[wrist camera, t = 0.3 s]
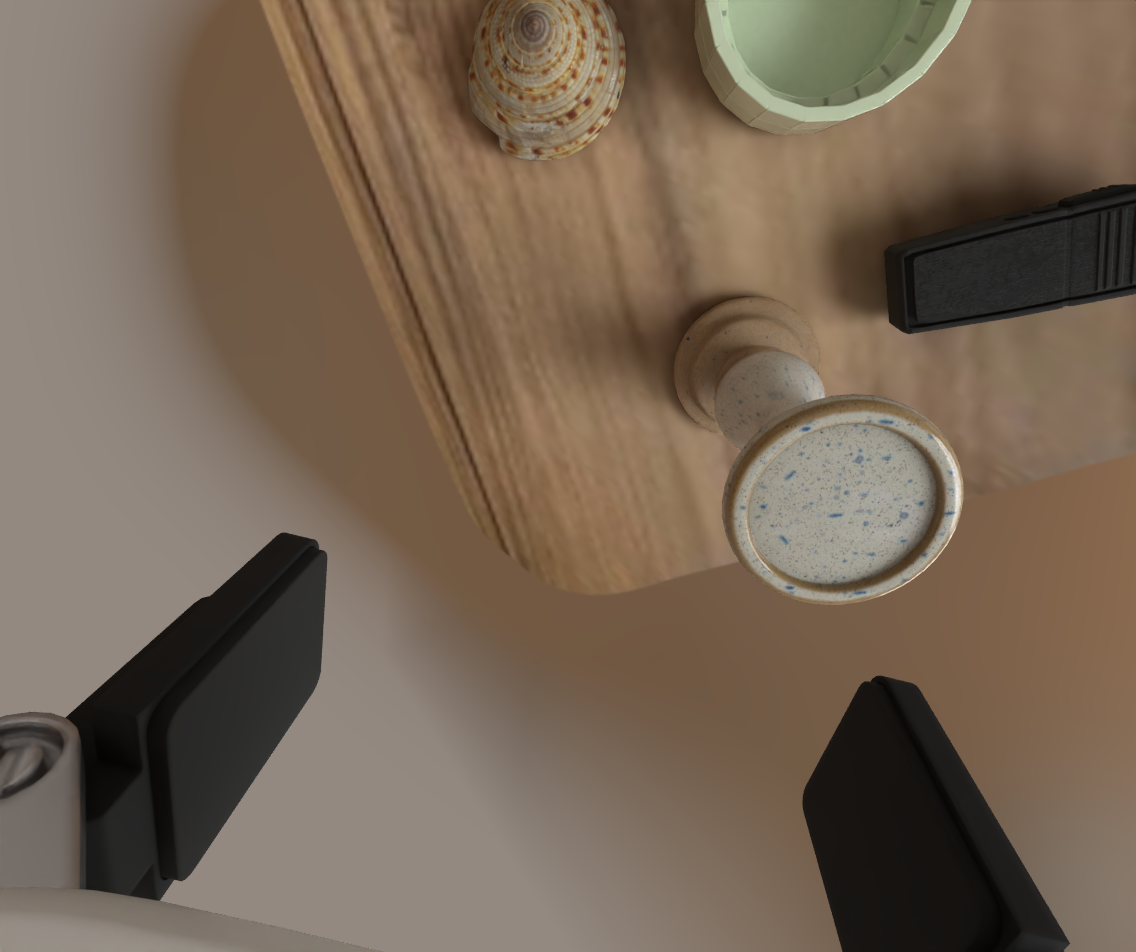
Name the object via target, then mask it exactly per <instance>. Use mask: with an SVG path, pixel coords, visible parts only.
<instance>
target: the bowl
mask: <svg viewBox="0 0 1136 952" xmlns="http://www.w3.org/2000/svg"><path fill="white" fill-rule="evenodd" d="M970 2H971V0H696V6H695V26H694V33H695V35H694V36H695V41H696V45H697V49H698V54H699V58H700V62H701V67H702V71H703V73H704V75H705V77H706V79H707V80H708V82H709V84H710V85H711V87H712V89H713V90H714V92H715V94H716V96H717V97H718V99H719V101H720V102H721V103H722V104H723V105H724V106H725V107H726V108H727V109H729V110H730V111H731V112H732V113H733V114H735V115H736V116H737V117H738V118H739V119H741V120H742V121H743V122H744V123H746V124H747V125H749V126H752V127H755V128H758V129H761V130H764V131H767V132H770V133H773V134H776V135H778V134H779V135H795V134H812V133H816V132H819V131H821V130H824V129H827V128H829V127H832V126H835V125H837V124H840V123H843V122H845V121H848V120H850V119H852V118H855V117H857V116H859V115H862V114H864V113H866V112H869V111H871V110H873V109H875V108H878V107H880V106H882V105H884V104H886V103H887V102H888V101H890V100H891V99H892V98H894V97H895V96H896V95H898V94H899V93H900V92H902V91H903V90H904V89H906V88H907V87H908V86H910V85H911V84H912V83H914V82H915V81H916V80H918V79H919V78H920V77H921V76H922V75H924V73H925V72H926V71H927V70H928V68H929V67H930V66H931V65H932V63H933V62H934V61H935V60H936V58H937V57H938V56H939V55H940V53H941V52H942V51H943V50H944V48H945V47H946V46H947V45H948V43H949V42H950V41H951V40H952V38H953V37H954V35H955V34H956V32H957V30H958V28H959V26H960V24H961V22H962V19H963V17H964V15H965V13H966V11H967V9H968V7H969V4H970Z"/></svg>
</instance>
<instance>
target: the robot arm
mask: <svg viewBox="0 0 1136 952" xmlns="http://www.w3.org/2000/svg"><path fill="white" fill-rule="evenodd" d="M326 571H327V554H326V552H325V551H323V550H319V545H318V542H317V541H316V540H314V539H309V538H305V537H301V536H297V535H293V534H289V533H280V534H279V535H277V536H276V537H275V538H274V539H273V540H272V541H271V542H270V543H269V544H267V545H266V546H265V547H264V548H263V549H262V550H261V551H260V552H258V553H257V554H256V555H255V556H254V557H253V558H252V559H251V560H250V561H248V562H247V563H246V564H245V565H244V566H243V567H242V568H241V569H240V570H239V571H237V572H236V573H235V574H234V575H233V576H232V577H231V578H230V579H229V580H227V581H226V582H225V583H224V584H223V585H222V586H221V587H220V588H219V589H218V590H216V591H215V592H214V593H213V594H212V595H211V596H208V597H204V598H201V599H200V600H198V601H197V602H195V603H194V604H193V605H192V606H191V607H190V608H188V609H187V610H186V611H185V612H184V613H183V614H182V615H181V616H179V617H178V618H177V619H176V620H175V621H174V622H173V623H171V624H170V625H169V626H168V627H167V628H166V629H165V630H164V631H162V633H160V634H159V635H158V636H157V637H156V638H155V639H154V640H152V641H151V642H150V643H149V644H148V645H147V646H146V647H144V648H143V649H142V650H141V651H140V652H139V653H138V654H137V655H135V656H134V657H133V658H132V659H131V660H130V661H129V662H127V663H126V664H125V665H124V666H123V667H122V668H121V669H120V670H119V671H117V672H116V673H115V674H114V675H113V676H112V677H111V678H109V679H108V680H107V681H106V682H105V683H104V684H103V685H102V686H101V687H99V688H98V689H97V690H96V691H95V692H94V693H93V694H91V695H90V696H89V697H88V698H87V699H86V700H85V701H84V702H82V703H81V704H80V705H79V706H78V707H77V708H76V709H75V710H74V711H72V712H71V713H70V714H69V715H68V716H67V717H66V718H64V717H61V716H58V715H55V714H52V713H39V712H28V713H20V714H13V715H6V716H3V717H0V952H381V951H376V950H372V949H369V948H364V947H360V946H356V945H352V944H348V943H344V942H339V941H335V940H331V939H327V938H322V937H318V936H314V935H310V934H306V933H302V932H298V931H293V930H289V929H285V928H280V927H276V926H272V925H267V924H262V923H258V922H253V921H248V920H244V919H239V918H235V917H230V916H226V915H221V914H217V913H212V912H208V911H203V910H198V909H194V908H189V907H185V906H180V905H176V904H171V903H166V902H162V901H160V899H161V898H162V897H163V895H164V894H165V892H166V891H167V889H168V888H169V886H170V885H171V884H172V882H173V881H174V880H179V881H183V880H185V879H186V878H187V877H188V876H189V875H190V874H191V873H192V871H193V870H194V868H195V867H196V866H197V864H198V863H199V861H200V860H201V858H202V857H203V855H204V854H205V852H206V851H207V849H208V848H209V846H210V845H211V843H212V842H213V840H214V839H215V838H216V836H217V835H218V833H219V832H220V830H221V829H222V827H223V825H224V824H225V823H226V821H227V820H228V818H229V817H230V815H231V814H232V812H233V811H234V809H235V808H236V806H237V805H238V803H239V802H240V800H241V799H242V797H243V796H244V794H245V793H246V791H247V790H248V788H249V787H250V785H251V784H252V782H253V781H254V779H255V778H256V776H257V775H258V773H259V772H260V770H261V769H262V767H263V766H264V765H265V763H266V762H267V760H268V759H269V757H270V756H271V754H272V753H273V751H274V749H275V748H276V747H277V745H278V744H279V742H280V741H281V739H282V738H283V736H284V735H285V733H286V732H287V730H288V729H289V727H290V726H291V724H292V723H293V721H294V720H295V718H296V717H297V715H298V714H299V712H300V711H301V709H302V708H303V706H304V705H305V703H306V702H307V700H308V699H309V697H310V696H311V694H312V693H313V691H314V689H315V687H316V685H317V683H318V680H319V677H320V672H321V658H322V641H323V624H324V623H323V622H324V607H325V589H326ZM803 811H804V815H805V819H806V822H807V826H808V829H809V833H810V837H811V840H812V843H813V847H814V851H815V854H816V858H817V862H818V865H819V869H820V872H821V876H822V879H823V883H824V887H825V890H826V894H827V898H828V901H829V904H830V908H831V912H832V915H833V919H834V922H835V926H836V929H837V933H838V937H839V940H840V944H841V947H842V951H843V952H1064V949H1065V948H1066V947H1067V946H1068V945H1069V944H1070V943H1069V941H1068V939H1067V938H1066V936H1065V934H1064V932H1063V931H1062V929H1061V927H1060V926H1059V924H1058V923H1057V921H1056V919H1055V917H1054V916H1053V914H1052V912H1051V911H1050V909H1049V907H1048V906H1047V904H1046V902H1045V900H1044V899H1043V897H1042V895H1041V894H1040V892H1039V890H1038V889H1037V887H1036V885H1035V884H1034V882H1033V880H1032V878H1031V877H1030V875H1029V873H1028V872H1027V870H1026V868H1025V867H1024V865H1023V863H1022V862H1021V860H1020V858H1019V856H1018V855H1017V853H1016V851H1015V850H1014V848H1013V846H1012V845H1011V843H1010V841H1009V840H1008V838H1007V836H1006V835H1005V833H1004V831H1003V829H1002V828H1001V826H1000V825H999V823H998V821H997V819H996V818H995V816H994V814H993V813H992V811H991V809H990V808H989V806H988V804H987V802H986V801H985V799H984V797H983V796H982V794H981V793H980V791H979V789H978V787H977V786H976V784H975V782H974V781H973V779H972V777H971V775H970V774H969V772H968V770H967V769H966V767H965V765H964V764H963V762H962V760H961V759H960V757H959V755H958V754H957V752H956V750H955V749H954V747H953V745H952V743H951V742H950V740H949V738H948V737H947V735H946V734H945V731H944V730H943V728H942V727H941V725H940V723H939V721H938V720H937V718H936V716H935V715H934V713H933V711H932V710H931V708H930V706H929V705H928V703H927V701H926V700H925V698H924V696H923V694H922V693H921V691H920V690H919V688H918V687H917V686H916V685H914V684H912V683H909V682H905V681H901V680H896V679H893V678H888V677H884V676H876V677H874V678H873V679H872V680H871V682H863V683H862V684H861V685H860V687H859V688H858V690H857V692H856V694H855V696H854V698H853V699H852V701H851V703H850V705H849V707H848V709H847V711H846V712H845V714H844V716H843V718H842V720H841V722H840V724H839V725H838V727H837V729H836V731H835V733H834V735H833V737H832V738H831V740H830V742H829V744H828V746H827V748H826V750H825V751H824V753H823V755H822V757H821V759H820V761H819V763H818V764H817V766H816V768H815V770H814V772H813V774H812V776H811V778H810V779H809V781H808V783H807V785H806V787H805V789H804V794H803Z"/></svg>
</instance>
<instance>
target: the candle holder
mask: <svg viewBox="0 0 1136 952" xmlns="http://www.w3.org/2000/svg"><path fill="white" fill-rule="evenodd" d="M819 372H820V353H819V347H818V344H817V341H816V337H815V335H814V333H813V332H812V330H811V328H810V326H809V325H808V324H807V322H806V321H805V320H804V318H802V317H801V316H800V315H799V314H798V313H797V312H796V311H795V310H793V309H791V308H790V307H788V306H787V305H785V304H783V303H780V302H778V301H775V300H772V299H768V298H763V297H742V298H736V299H732V300H728V301H725V302H723V303H721V304H718V305H716V306H714V307H713V308H711V309H709V310H708V311H706V312H705V313H704V314H702V315H701V316H700V317H699V318H698V319H697V320H696V321H695V322H694V323H693V324H692V325H691V326H690V327H689V329H688V330H687V332H686V333H685V335H684V336H683V338H682V340H681V343H680V345H679V347H678V350H677V353H676V357H675V363H674V383H675V388H676V392H677V395H678V397H679V400H680V402H681V404H682V406H683V407H684V409H685V410H686V412H687V413H688V414H689V415H690V416H691V418H692V419H693V420H695V421H696V422H697V423H698V424H699V425H701V426H702V427H704V428H705V429H707V430H709V431H711V432H713V433H716V434H718V435H722V436H725V437H726V438H727V439H728V441H730V442H731V443H732V444H733V445H734V446H735V447H737V448H739V449H740V450H742V451H741V452H740V453H739V455H738V456H737V458H736V460H735V462H734V464H733V466H732V468H731V470H730V472H729V475H728V478H727V481H726V484H725V487H724V493H723V499H722V518H723V523H724V528H725V533H726V536H727V539H728V541H729V543H730V546H731V548H732V550H733V552H734V553H735V555H736V557H737V558H738V560H739V561H740V563H741V564H742V565H743V566H744V567H745V568H746V570H747V571H748V572H749V573H750V574H751V575H752V576H754V577H755V578H756V579H757V580H758V581H760V582H761V583H762V584H763V585H765V586H767V587H768V588H770V589H772V590H774V591H776V592H777V593H779V594H782V595H784V596H787V597H790V598H792V599H795V600H800V601H804V602H808V603H817V604H826V605H833V604H834V605H835V604H849V603H856V602H862V601H866V600H869V599H873V598H876V597H880V596H882V595H884V594H887V593H889V592H891V591H894V590H896V589H897V588H899V587H901V586H903V585H905V584H906V583H908V582H910V581H911V580H913V579H914V578H915V577H917V576H918V575H919V574H921V573H922V572H923V571H924V570H926V569H927V568H928V567H929V566H930V565H931V564H932V563H933V562H934V560H936V559H937V557H938V556H939V555H940V553H941V552H942V551H943V549H944V548H945V547H946V545H947V544H948V542H949V540H950V538H951V536H952V535H953V532H954V531H955V529H956V526H957V523H958V520H959V517H960V514H961V510H962V503H963V497H964V494H963V476H962V472H961V468H960V464H959V461H958V458H957V456H956V454H955V452H954V450H953V448H952V446H951V444H950V443H949V441H948V440H947V439H946V437H945V436H944V435H943V433H942V432H941V431H940V429H938V428H937V427H936V426H935V425H934V424H933V423H932V422H931V421H930V420H929V419H927V418H926V417H925V416H923V415H922V414H920V413H918V412H917V411H915V410H914V409H912V408H910V407H909V406H906V405H904V404H901V403H899V402H896V401H894V400H891V399H886V398H882V397H877V396H872V395H857V394H850V395H837V396H829V397H826V395H825V390H824V386H823V383H822V381H821V379H820V377H819Z"/></svg>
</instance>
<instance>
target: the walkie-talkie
mask: <svg viewBox="0 0 1136 952" xmlns="http://www.w3.org/2000/svg"><path fill="white" fill-rule="evenodd" d="M884 256H885V270H886V285H887V299H888V313H889V322H890V323H891V324H892V325H893V326H895V327H896V328H898V329H899V330H900V331H902V332H904V333H907V334H913V333H919V332H925V331H932V330H938V329H944V328H951V327H957V326H963V325H970V324H976V323H982V322H989V321H995V320H1001V319H1008V318H1013V317H1019V316H1024V315H1029V314H1034V313H1039V312H1045V311H1050V310H1055V309H1060V308H1062V307H1064V306H1075V305H1080V304H1086V303H1091V302H1097V301H1102V300H1107V299H1112V298H1117V297H1123V296H1128V295H1133V294H1136V184H1133V185H1127V184H1122V185H1110V186H1108V187H1102V188H1099V189H1093V190H1092V191H1090V192H1086V193H1083V194H1079V195H1075V196H1071V197H1067V198H1064V199H1062V200H1060V201H1059V202H1056V203H1052V204H1048V205H1046V206H1044V207H1041V208H1040V207H1036V208H1031V209H1027V210H1023V211H1019V212H1015V213H1011V214H1007V215H1003V216H999V217H994V218H990V219H986V220H983V221H979V222H976V223H972V224H968V225H965V226H961V227H957V228H954V229H950V230H946V231H943V232H939V233H936V234H932V235H928V236H925V237H921V238H917V239H914V240H910V241H906V242H903V243H899V244H896V245H892V246H889V247H888V248H887V249H886V250H885V252H884Z"/></svg>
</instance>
